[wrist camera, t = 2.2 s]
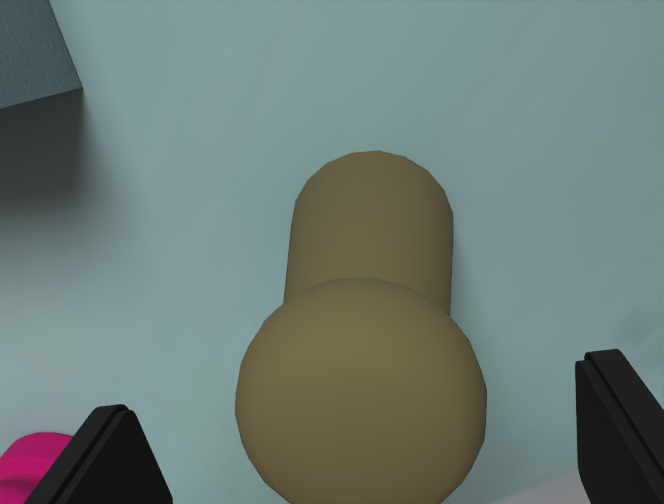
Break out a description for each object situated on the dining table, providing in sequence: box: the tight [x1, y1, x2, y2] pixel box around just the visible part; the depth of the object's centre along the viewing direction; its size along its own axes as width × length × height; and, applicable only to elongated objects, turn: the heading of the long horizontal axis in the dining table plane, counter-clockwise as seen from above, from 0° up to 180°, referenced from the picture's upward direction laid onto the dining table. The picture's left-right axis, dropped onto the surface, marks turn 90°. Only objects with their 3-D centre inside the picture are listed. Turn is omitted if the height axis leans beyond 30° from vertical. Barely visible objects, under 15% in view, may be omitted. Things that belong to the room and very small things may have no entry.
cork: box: [235, 151, 487, 504], centre depth 14 cm, size 6×6×11 cm
